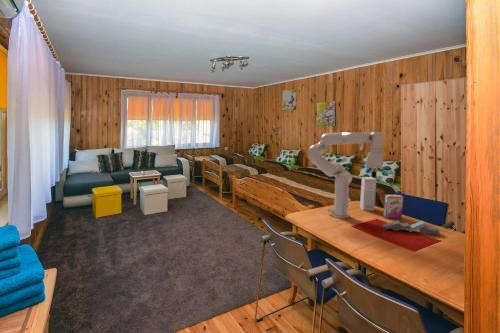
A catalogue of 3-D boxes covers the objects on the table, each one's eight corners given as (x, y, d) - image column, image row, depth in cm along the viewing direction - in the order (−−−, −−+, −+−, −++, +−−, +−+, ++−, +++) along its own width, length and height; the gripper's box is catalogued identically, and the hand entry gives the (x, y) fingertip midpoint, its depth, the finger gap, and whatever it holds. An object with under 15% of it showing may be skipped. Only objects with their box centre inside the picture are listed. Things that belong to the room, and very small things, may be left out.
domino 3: (408, 229, 179) (424, 223, 177) (406, 226, 184) (421, 220, 182) (410, 232, 179) (426, 225, 177) (407, 229, 184) (423, 223, 182)
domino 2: (392, 227, 182) (409, 225, 179) (391, 225, 187) (407, 222, 184) (393, 230, 182) (410, 228, 179) (391, 228, 187) (408, 225, 184)
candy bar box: (385, 218, 206) (387, 196, 203) (383, 215, 211) (384, 194, 208) (401, 218, 205) (403, 196, 202) (398, 216, 209) (401, 194, 207)
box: (362, 210, 224) (365, 179, 220) (359, 207, 232) (361, 176, 228) (374, 210, 223) (376, 179, 219) (370, 207, 231) (372, 177, 227)
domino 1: (383, 226, 184) (399, 223, 180) (382, 224, 188) (398, 220, 185) (384, 229, 184) (400, 226, 180) (383, 227, 188) (399, 223, 185)
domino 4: (420, 228, 178) (439, 230, 174) (419, 225, 182) (437, 227, 178) (420, 231, 178) (439, 233, 174) (419, 228, 182) (437, 231, 179)
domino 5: (421, 231, 178) (439, 233, 175) (419, 228, 182) (436, 230, 180) (421, 234, 178) (439, 236, 176) (418, 231, 183) (436, 233, 180)
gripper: (387, 150, 193) (384, 177, 196) (363, 149, 198) (361, 175, 201) (388, 151, 186) (386, 179, 189) (364, 150, 191) (362, 177, 194)
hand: (373, 177), depth 195 cm, fingers closed
